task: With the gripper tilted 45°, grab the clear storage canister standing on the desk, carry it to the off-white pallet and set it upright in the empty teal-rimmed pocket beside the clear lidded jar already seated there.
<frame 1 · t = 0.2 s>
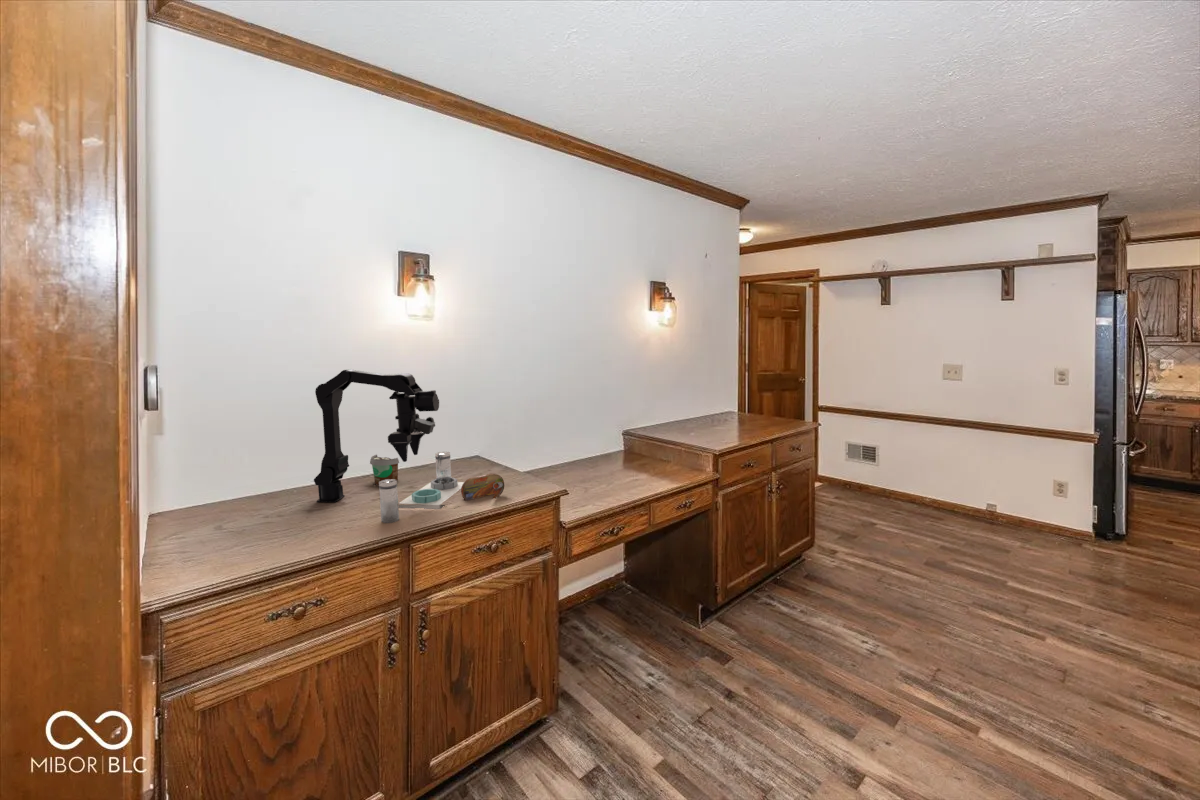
hand: (410, 458, 177), 14 cm above the worktop, tool pointing down, fingers open, 9 cm apart
food container: (382, 484, 198), on the worktop
tin: (483, 500, 179), on the worktop
pallet: (436, 496, 183), on the worktop
clear storage canister: (390, 520, 161), on the worktop
clear lidded jar: (444, 486, 189), point 1 cm above the worktop, touching pallet
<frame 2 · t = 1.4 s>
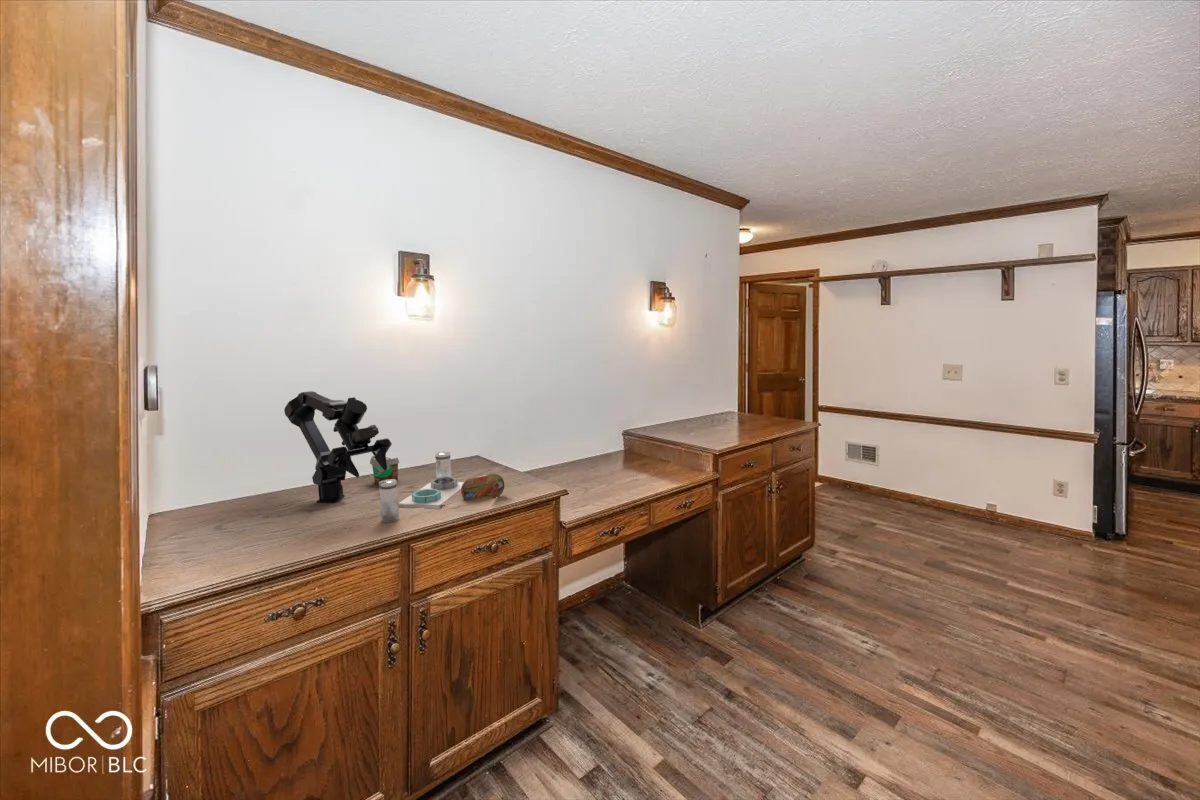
hand: (372, 473, 163), 13 cm above the worktop, tool tilted 45°, fingers open, 9 cm apart
nothing on the worktop moved.
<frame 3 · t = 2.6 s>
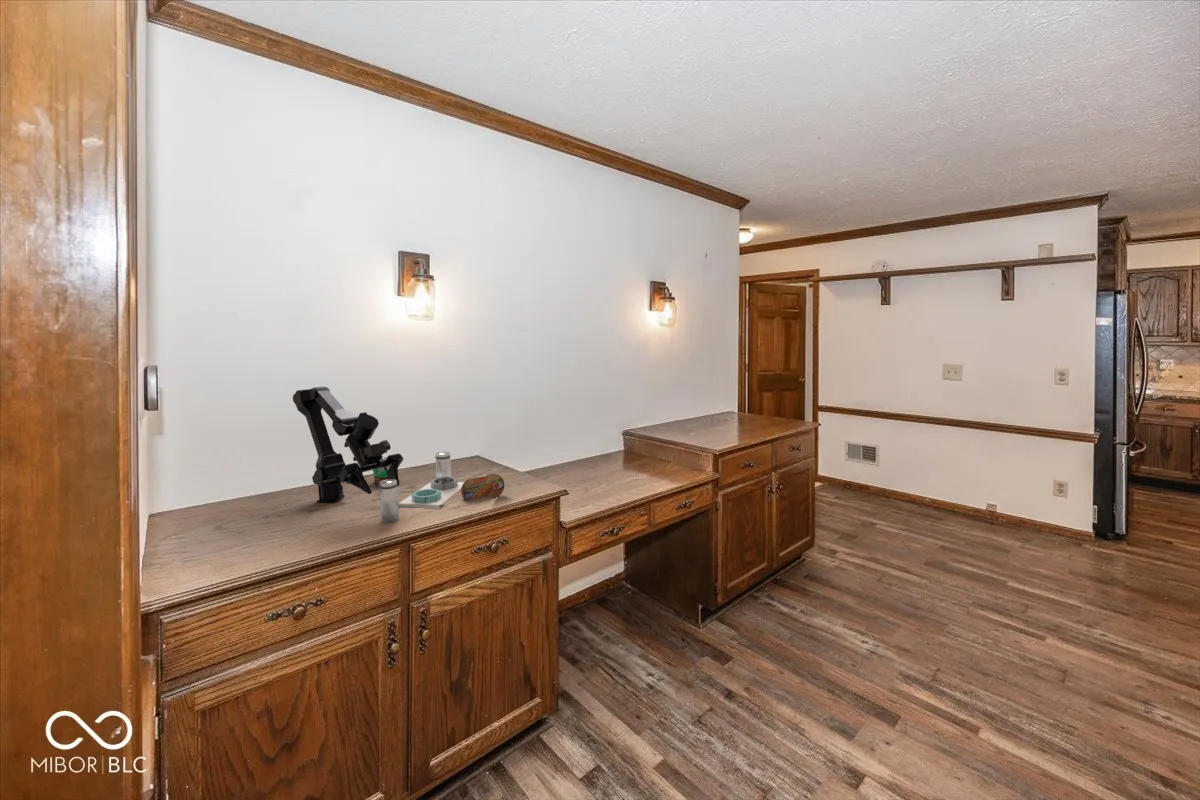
hand: (384, 489, 160), 9 cm above the worktop, tool tilted 45°, fingers open, 9 cm apart
nothing on the worktop moved.
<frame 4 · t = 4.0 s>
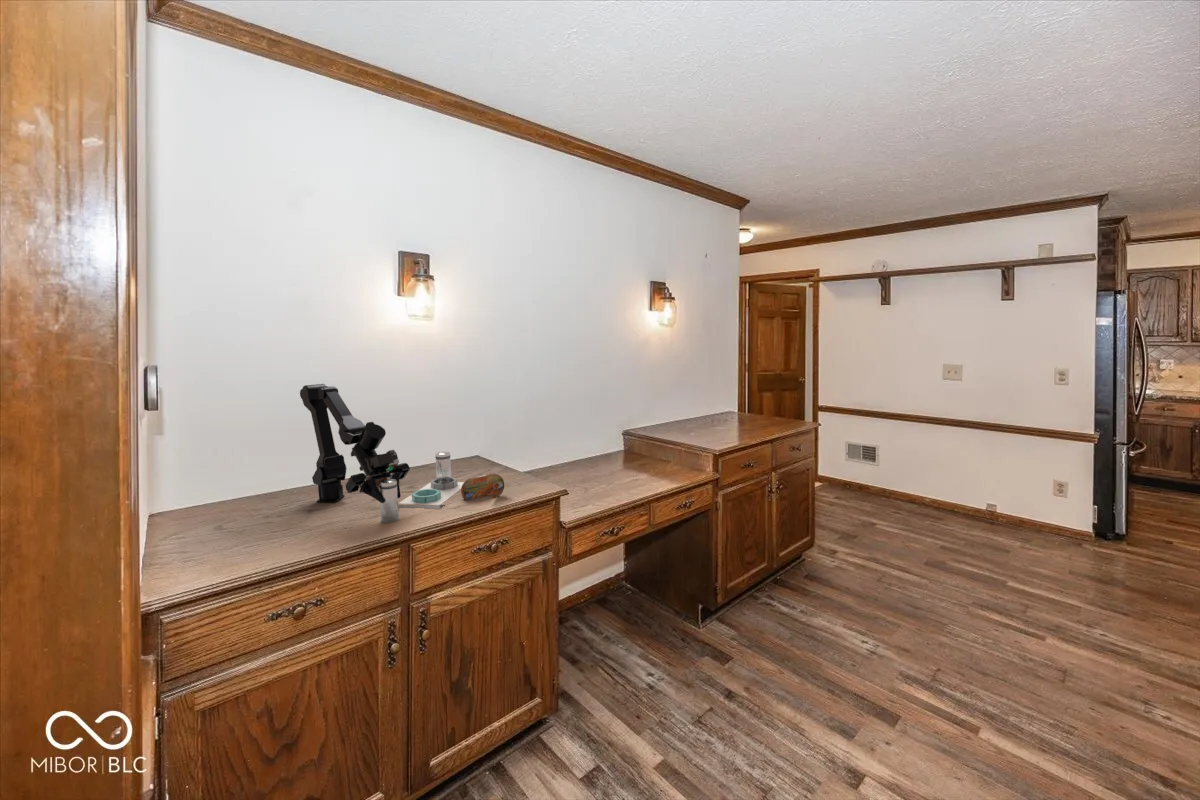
hand: (391, 499, 159), 7 cm above the worktop, tool tilted 45°, fingers closed on clear storage canister, 5 cm apart
clear storage canister: (390, 520, 161), on the worktop, touching gripper
everything else where it was.
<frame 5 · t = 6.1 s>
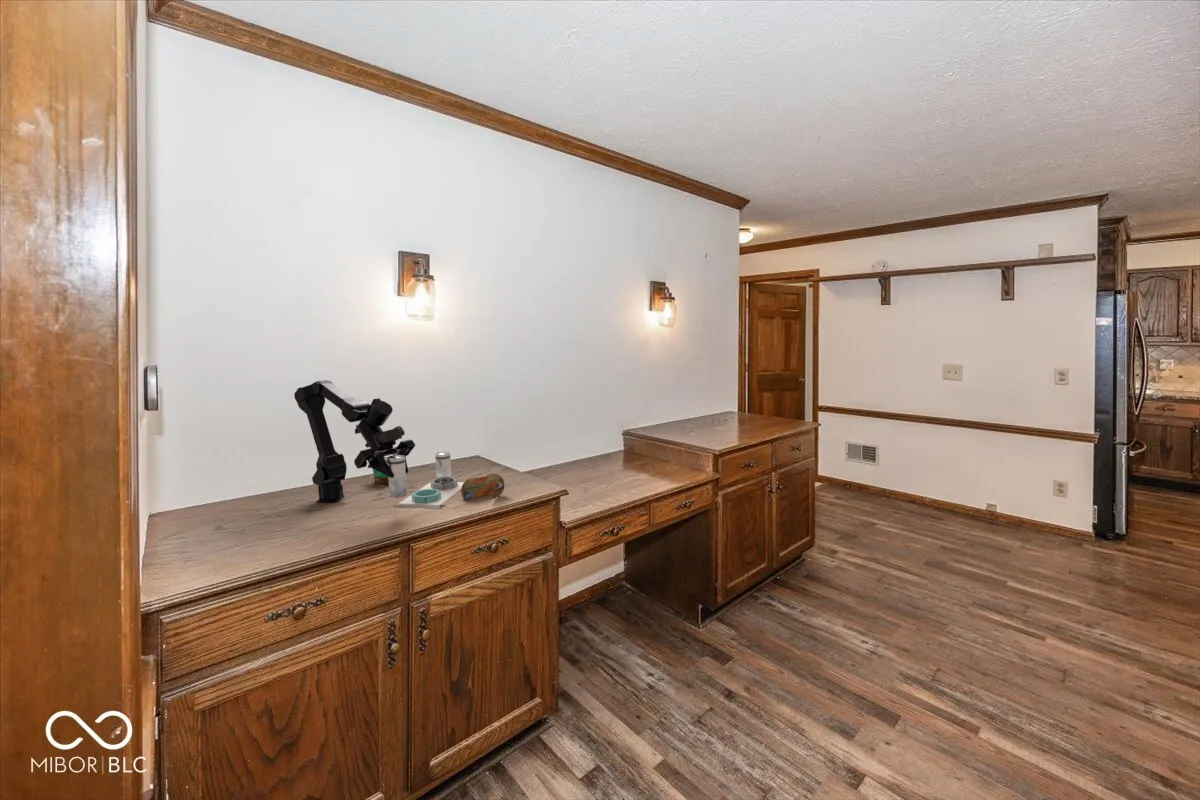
hand: (400, 474, 161), 13 cm above the worktop, tool tilted 45°, fingers closed on clear storage canister, 5 cm apart
clear storage canister: (398, 495, 162), point 7 cm above the worktop, touching gripper
everything else where it was.
when the fingers open (9 cm above the worktop, at t = 8.4 s): clear storage canister stays where it is, resting on pallet.
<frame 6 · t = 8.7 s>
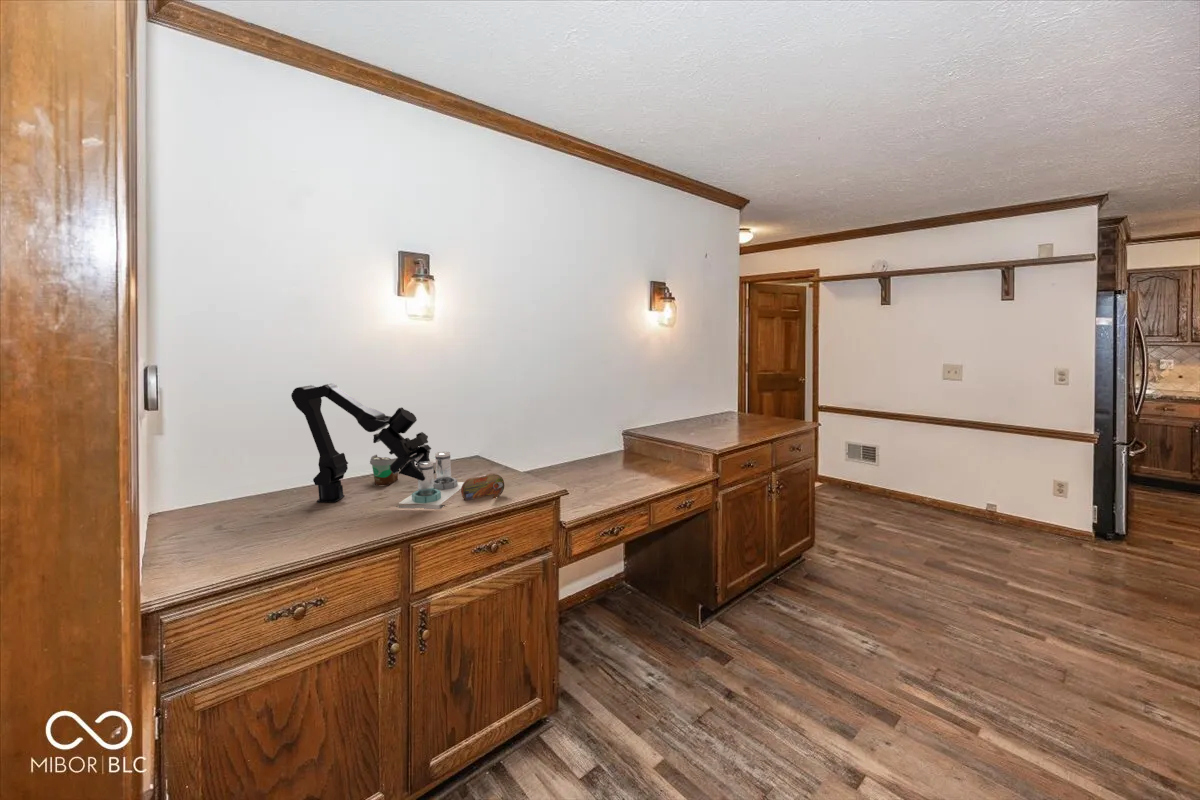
hand: (429, 476, 175), 9 cm above the worktop, tool tilted 45°, fingers open, 7 cm apart
clear storage canister: (426, 498, 176), point 2 cm above the worktop, touching pallet
everything else where it was.
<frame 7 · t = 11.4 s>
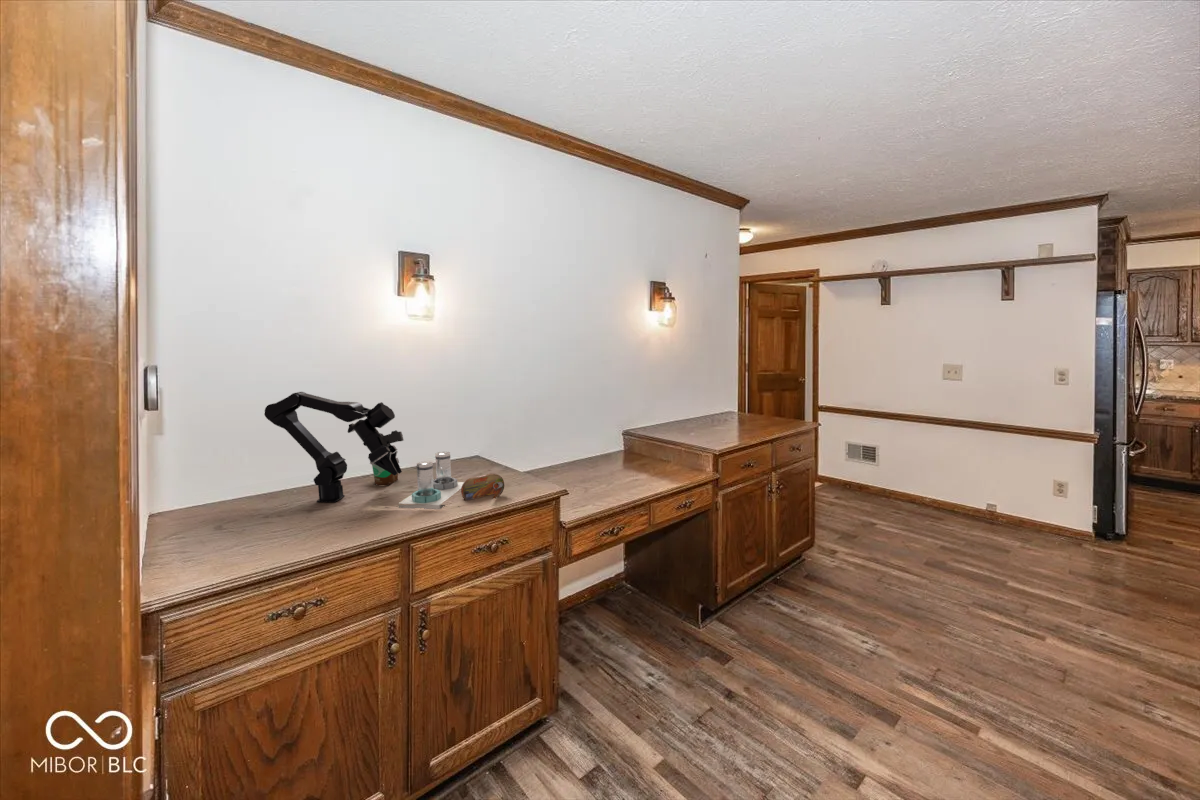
hand: (398, 473, 177), 9 cm above the worktop, tool tilted 35°, fingers open, 9 cm apart
nothing on the worktop moved.
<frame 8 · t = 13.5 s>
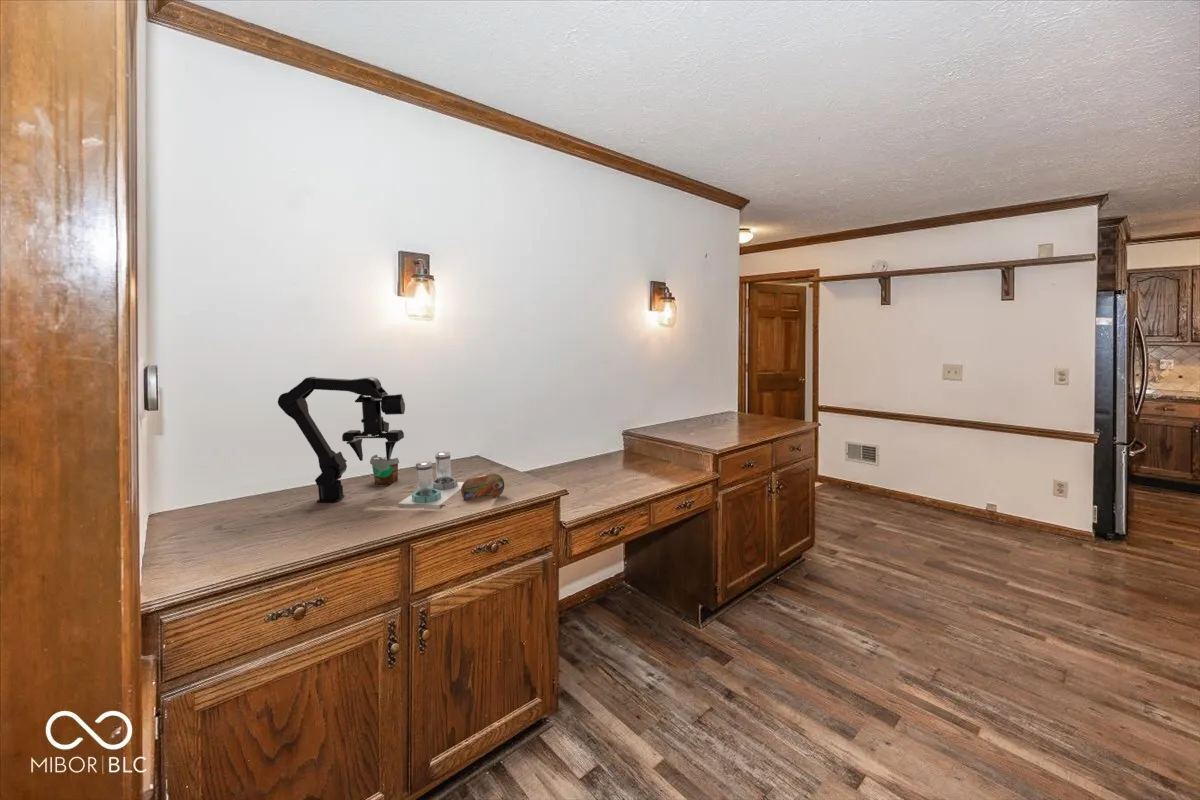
hand: (375, 460, 180), 13 cm above the worktop, tool pointing down, fingers open, 9 cm apart
nothing on the worktop moved.
at the end: clear storage canister 0.1 cm from the target spot on the pallet, point 1.5 cm above the pallet's base; clear storage canister tilted 1°; the gripper is holding nothing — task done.
